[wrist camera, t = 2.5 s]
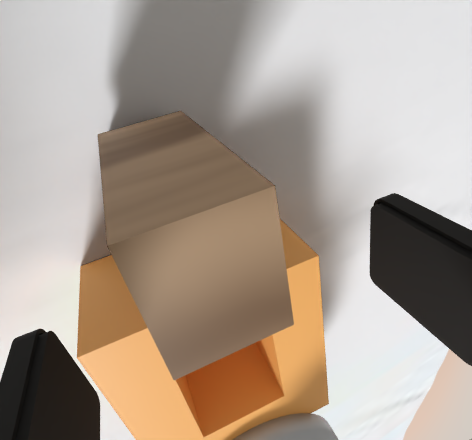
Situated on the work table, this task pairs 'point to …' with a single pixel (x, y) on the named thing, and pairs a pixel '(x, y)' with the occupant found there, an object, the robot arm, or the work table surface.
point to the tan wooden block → (193, 240)
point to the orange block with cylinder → (213, 375)
